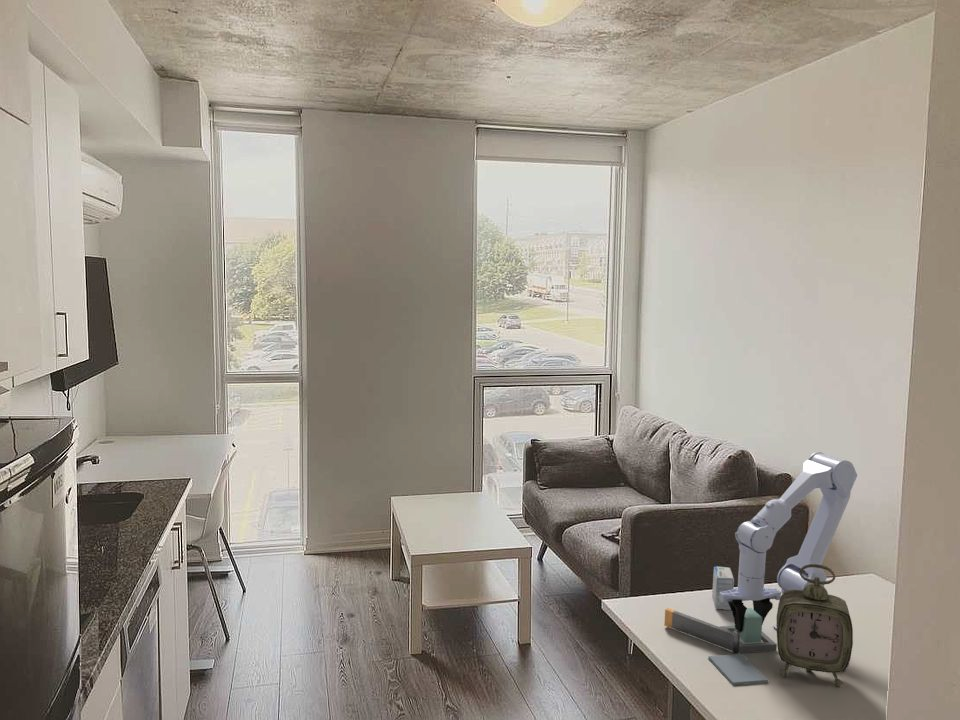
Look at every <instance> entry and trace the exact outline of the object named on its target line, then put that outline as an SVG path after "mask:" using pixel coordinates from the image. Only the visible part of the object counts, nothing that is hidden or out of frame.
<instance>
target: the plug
mask: <svg viewBox="0 0 960 720" xmlns="http://www.w3.org/2000/svg"><path fill="white" fill-rule="evenodd" d="M746 608H747V610H746V612H745V616H744V623H743V631H742V632H740V642H741V643H742V644H749V643H764V642H763V641H762V640H761V632H763V629H762V628H763V624H762V616H760V615H759V614H758V613H757V612H756V611H754V609H753V607H746ZM734 631H738V630H737V629H736V628H734Z"/></svg>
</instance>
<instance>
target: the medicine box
mask: <svg viewBox="0 0 960 720" xmlns="http://www.w3.org/2000/svg"><path fill="white" fill-rule="evenodd" d="M712 573H713V574H712V594H711V595H712V597H711V598H712V601H713V603H714V608H716V610H721V609H724V611H731V608H730V606H729V604H728V602H727V603H722V602H721V601H720V600H719V593H720V592H724V591H728V590H732V589H735V578H734V575H733V572H732V568H731V567H726V566H714V567H713V572H712Z"/></svg>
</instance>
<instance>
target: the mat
mask: <svg viewBox="0 0 960 720" xmlns="http://www.w3.org/2000/svg"><path fill="white" fill-rule="evenodd" d="M707 659H708V660H709V661H710V662H711V664H713V666H714V667H715V668H716V669H717V670H718V671H719V672H720V673H721V674H722V675H723V676H724V677H725V679H726V680H727V681H728V682H729V683H730V684H731V685H732V686H737V685H738V686H739V685H751V684H753V685H754V683H755V684H766V683H769V679H768V678H767V677H765V675H764V674H763V673H762V672H761V671H760V670H759V669H758V668H756V666H754V664H753V663H752V662H751V661H750V660H749V659H747V658H746V657H745V656H744V654H743V653H738V654H736V653H732V654H724V655H723V654H722V655H721V654H720V655H708V657H707Z"/></svg>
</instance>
